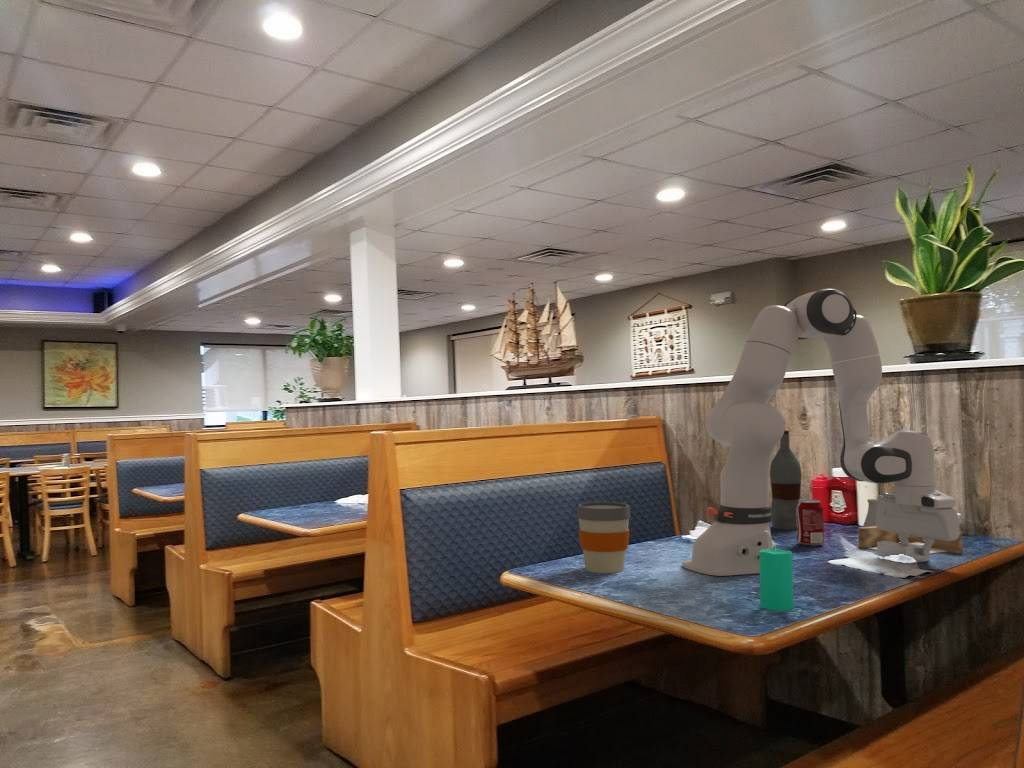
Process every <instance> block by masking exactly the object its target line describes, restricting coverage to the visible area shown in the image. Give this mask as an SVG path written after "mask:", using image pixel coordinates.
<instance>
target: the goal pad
mask: <svg viewBox="0 0 1024 768" xmlns="http://www.w3.org/2000/svg"><path fill="white" fill-rule="evenodd" d="M867 549H868V550H874V551H877V546H874V547H867ZM946 552H948V551H945V550H939V549H934V548H930V555H932V554H940V553H946Z"/></svg>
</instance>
